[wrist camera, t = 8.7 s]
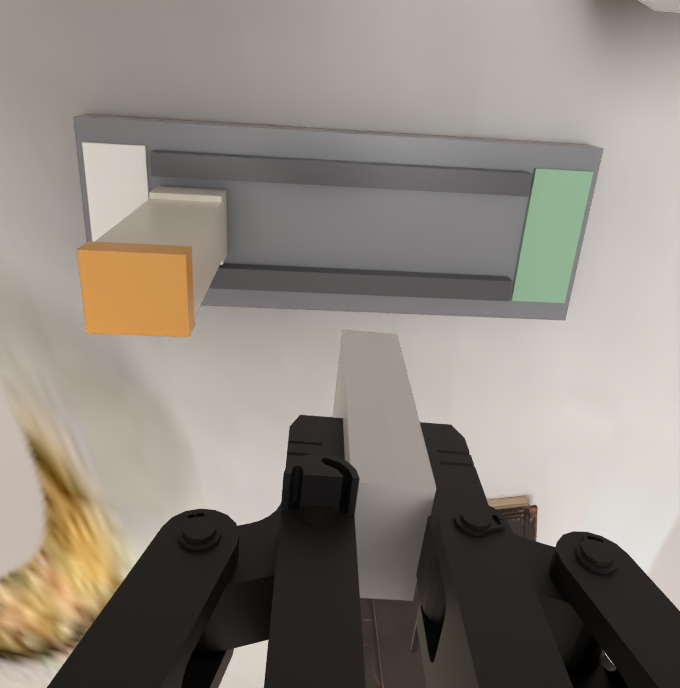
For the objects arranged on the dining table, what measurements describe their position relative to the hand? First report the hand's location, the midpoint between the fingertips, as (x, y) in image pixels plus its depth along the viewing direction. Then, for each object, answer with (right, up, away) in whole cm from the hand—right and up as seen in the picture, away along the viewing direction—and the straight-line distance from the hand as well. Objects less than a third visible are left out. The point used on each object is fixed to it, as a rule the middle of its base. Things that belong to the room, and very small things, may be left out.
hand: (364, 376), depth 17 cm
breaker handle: (-9, +8, +17) cm, 20 cm away
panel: (-1, +8, +19) cm, 21 cm away
